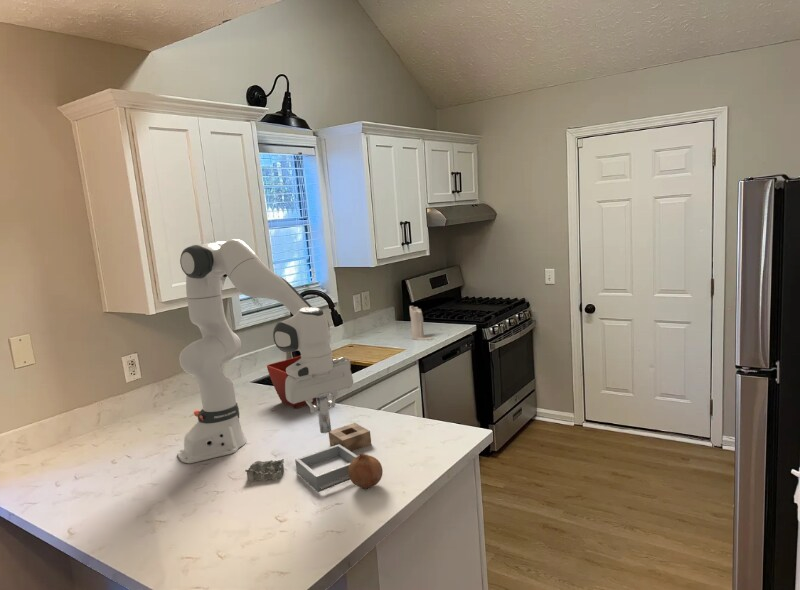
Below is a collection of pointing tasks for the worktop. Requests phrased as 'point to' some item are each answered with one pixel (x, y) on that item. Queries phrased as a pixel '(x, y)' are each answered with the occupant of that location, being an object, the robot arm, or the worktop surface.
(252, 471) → the egg carton
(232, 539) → the worktop surface
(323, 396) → the steel pin
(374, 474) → the onion
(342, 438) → the socket block
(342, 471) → the grey tray
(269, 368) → the plant pot
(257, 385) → the worktop surface
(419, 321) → the candle
